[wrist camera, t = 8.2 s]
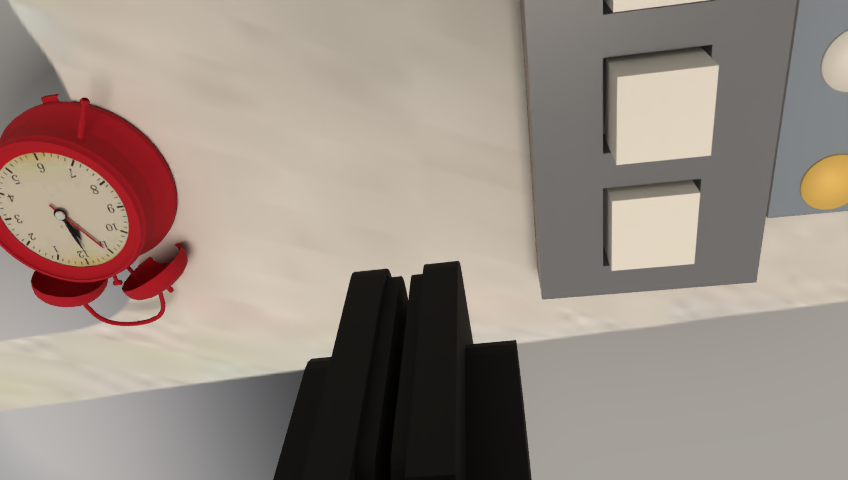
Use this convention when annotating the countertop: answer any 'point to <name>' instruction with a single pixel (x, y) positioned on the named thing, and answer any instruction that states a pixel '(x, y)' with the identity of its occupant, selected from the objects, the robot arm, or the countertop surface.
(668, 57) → the key middle
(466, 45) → the countertop surface
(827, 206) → the pattern card
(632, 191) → the key
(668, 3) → the key
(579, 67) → the button board
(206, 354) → the countertop surface
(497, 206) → the countertop surface
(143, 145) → the alarm clock
